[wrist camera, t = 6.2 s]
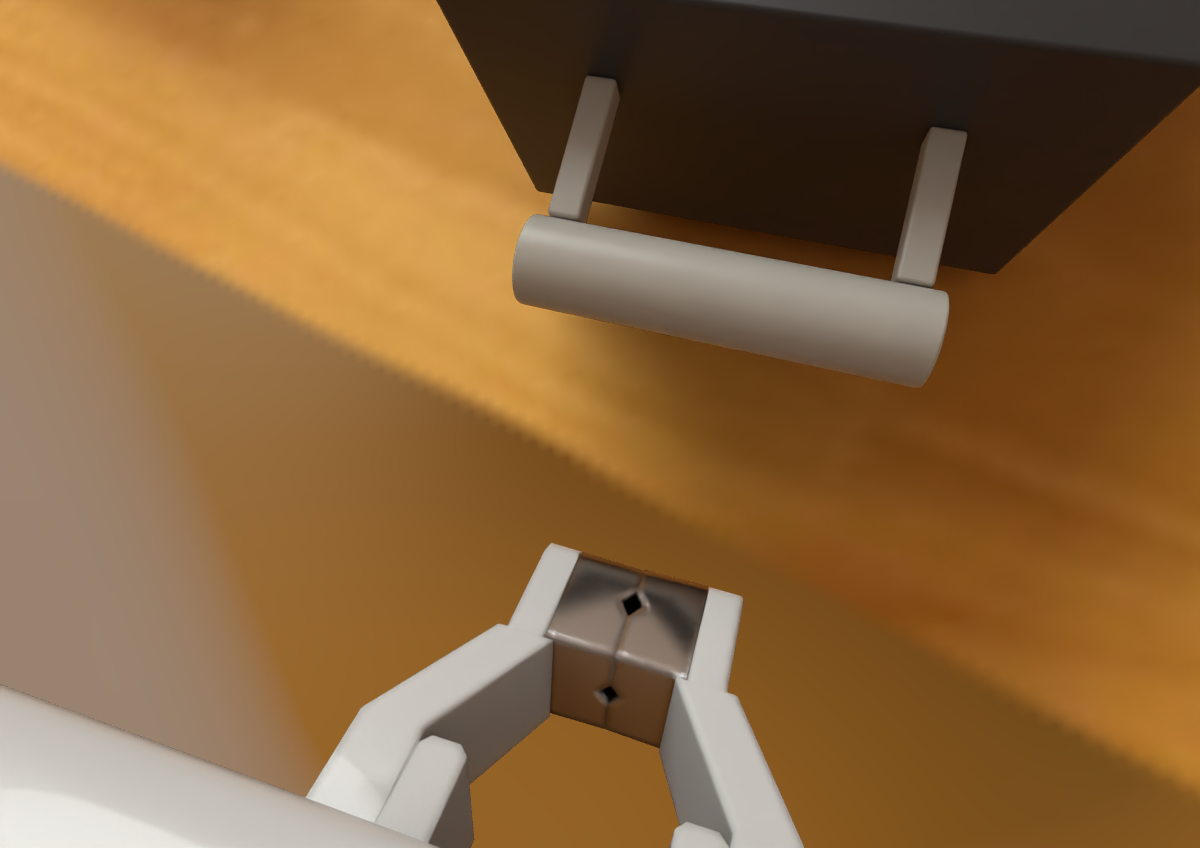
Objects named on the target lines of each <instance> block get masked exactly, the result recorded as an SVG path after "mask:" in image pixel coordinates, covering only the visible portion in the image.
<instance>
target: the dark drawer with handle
mask: <svg viewBox="0 0 1200 848" xmlns="http://www.w3.org/2000/svg"><path fill="white" fill-rule="evenodd" d="M437 2H438V4H439V6H440V8H441V10H442V12H443V14H444V16H445V17H446V19H447V21H448V23H449V25H450V27H451V29H452V31H453V33H454V34H455V36H456V38H457V40H458V42H459V44H460V46H461V48H462V50H463V51H464V53H465V55H466V57H467V59H468V61H469V63H470V65H471V67H472V68H473V70H474V72H475V74H476V76H477V78H478V80H479V82H480V84H481V85H482V87H483V89H484V91H485V93H486V95H487V97H488V99H489V101H490V102H491V104H492V106H493V108H494V110H495V112H496V114H497V116H498V118H499V119H500V121H501V123H502V125H503V127H504V129H505V131H506V133H507V135H508V137H509V138H510V140H511V142H512V144H513V146H514V148H515V150H516V152H517V154H518V155H519V157H520V159H521V161H522V163H523V165H524V167H525V169H526V171H527V172H528V174H529V176H530V178H531V180H532V182H533V184H534V186H535V188H536V189H537V190H538V191H540V192H545V193H551V194H553V196H552V199H551V203H550V206H549V210H548V212H549V215H550V217H549V216H544V215H539V214H536V215H533V216H531V217H530V218H529V219H528V220H527V221H526V223H525V225H524V226H523V228H522V231H521V233H520V236H519V239H518V242H517V245H516V250H515V254H514V260H513V271H512V281H513V290H514V294H515V297H516V299H517V301H519V302H520V303H522V304H525V305H530V306H535V307H539V308H544V309H549V310H553V311H558V312H563V313H567V314H572V315H577V316H581V317H586V318H590V319H595V320H600V321H604V322H609V323H614V324H618V325H623V326H628V327H632V328H637V329H642V330H646V331H651V332H656V333H660V334H665V335H670V336H674V337H679V338H684V339H688V340H693V341H698V342H702V343H707V344H712V345H716V346H721V347H726V348H730V349H735V350H740V351H744V352H749V353H753V354H758V355H763V356H767V357H772V358H777V359H781V360H786V361H791V362H795V363H800V364H805V365H809V366H814V367H819V368H823V369H828V370H833V371H837V372H842V373H847V374H851V375H856V376H861V377H865V378H870V379H875V380H879V381H884V382H889V383H893V384H898V385H903V386H907V387H912V388H920V387H922V386H923V385H924V383H925V382H926V381H927V379H928V378H929V376H930V374H931V372H932V370H933V368H934V366H935V364H936V361H937V359H938V356H939V353H940V350H941V347H942V344H943V340H944V337H945V333H946V328H947V323H948V317H949V296H948V294H947V293H946V292H944V291H941V290H935V289H931V288H932V286H933V285H934V284H935V280H936V276H937V271H938V267H939V265H945V266H950V267H955V268H961V269H966V270H972V271H977V272H983V273H988V274H996V273H997V272H998V271H1000V270H1001V269H1002V268H1003V267H1004V266H1005V265H1006V264H1007V263H1008V262H1009V261H1010V260H1011V259H1013V258H1014V257H1015V256H1016V255H1017V254H1018V253H1019V252H1020V251H1021V250H1022V249H1023V248H1024V247H1026V246H1027V245H1028V244H1029V243H1030V242H1031V241H1032V240H1033V239H1034V238H1035V237H1036V236H1037V235H1039V234H1040V233H1041V232H1042V231H1043V230H1044V229H1045V228H1046V227H1047V226H1048V225H1049V224H1050V223H1052V222H1053V221H1054V220H1055V219H1056V218H1057V217H1058V216H1059V215H1060V214H1061V213H1062V212H1064V211H1065V210H1066V209H1067V208H1068V207H1069V206H1070V205H1071V204H1072V203H1073V202H1074V201H1075V200H1077V199H1078V198H1079V197H1080V196H1081V195H1082V194H1083V193H1084V192H1085V191H1086V190H1087V189H1088V188H1090V187H1091V186H1092V185H1093V184H1094V183H1095V182H1096V181H1097V180H1098V179H1099V178H1100V177H1101V176H1103V175H1104V174H1105V173H1106V172H1107V171H1108V170H1109V169H1110V168H1111V167H1112V166H1113V165H1115V164H1116V163H1117V162H1118V161H1119V160H1120V159H1121V158H1122V157H1123V156H1124V155H1125V154H1126V153H1128V152H1129V151H1130V150H1131V149H1132V148H1133V147H1134V146H1135V145H1136V144H1137V143H1138V142H1139V141H1141V140H1142V139H1143V138H1144V137H1145V136H1146V135H1147V134H1148V133H1149V132H1150V131H1151V130H1152V129H1154V128H1155V127H1156V126H1157V125H1158V124H1159V123H1160V122H1161V121H1162V120H1163V119H1164V118H1165V117H1167V116H1168V115H1169V114H1170V113H1171V112H1172V111H1173V110H1174V109H1175V108H1176V107H1177V106H1179V105H1180V104H1181V103H1182V102H1183V101H1184V100H1185V99H1186V98H1187V97H1188V96H1189V95H1190V94H1192V93H1193V92H1194V91H1195V90H1196V89H1197V88H1198V87H1199V86H1200V0H437ZM592 201H594V202H600V203H605V204H611V205H616V206H622V207H627V208H633V209H638V210H644V211H649V212H655V213H660V214H666V215H671V216H676V217H682V218H687V219H693V220H698V221H704V222H709V223H715V224H720V225H726V226H731V227H737V228H742V229H748V230H753V231H759V232H764V233H769V234H775V235H780V236H786V237H791V238H797V239H802V240H808V241H813V242H819V243H824V244H830V245H835V246H841V247H846V248H852V249H857V250H862V251H868V252H873V253H879V254H884V255H890V256H895V257H896V260H895V264H894V268H893V273H892V277H891V281H888V280H882V279H877V278H872V277H867V276H861V275H856V274H851V273H845V272H840V271H835V270H830V269H824V268H819V267H814V266H808V265H803V264H798V263H793V262H787V261H782V260H777V259H771V258H766V257H761V256H756V255H750V254H745V253H740V252H734V251H729V250H724V249H719V248H713V247H708V246H703V245H697V244H692V243H687V242H682V241H676V240H671V239H666V238H660V237H655V236H650V235H645V234H639V233H634V232H629V231H623V230H618V229H613V228H608V227H602V226H597V225H592V224H586V221H587V218H588V214H589V210H590V207H591V203H592Z"/></svg>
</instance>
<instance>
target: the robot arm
mask: <svg viewBox="0 0 1200 848" xmlns="http://www.w3.org/2000/svg"><path fill="white" fill-rule="evenodd" d="M707 591H708V592H707ZM742 607H743V597H742V596H739V595H736V594H732V593H728V592H725V591H721V590H718V589H714V588H709V589H708V586H705V585H701V584H698V583H694V582H690V581H686V580H682V579H678V578H675V577H671V576H667V575H663V574H660V573H656V572H652V571H648V570H641V569H637V568H634V567H631V566H627V565H624V564H621V563H618V562H614V561H611V560H607V559H604V558H601V557H598V556H595V555H591V554H588V553H585V552H581V551H577V550H574V549H570V548H567V547H564V546H560V545H557V544H553V543H551V544H550V545H549V546H548V547H547V548H546V550H545V551H544V553H543V555H542V557H541V559H540V561H539V563H538V565H537V567H536V569H535V571H534V573H533V575H532V577H531V579H530V581H529V583H528V585H527V588H526V590H525V592H524V594H523V596H522V598H521V600H520V602H519V604H518V606H517V608H516V610H515V612H514V614H513V616H512V618H511V620H510V622H509V624H508V626H506V625H502V624H497V625H495V626H494V627H492V628H490V629H489V630H487V631H485V632H484V633H482V634H480V635H479V636H477V637H476V638H474V639H472V640H471V641H469V642H467V643H466V644H464V645H463V646H461V647H459V648H458V649H456V650H454V651H453V652H451V653H449V654H448V655H447V656H445V657H443V658H441V659H440V660H438V661H436V662H435V663H433V664H432V665H430V666H428V667H427V668H425V669H423V670H422V671H420V672H418V673H417V674H415V675H414V676H412V677H410V678H409V679H407V680H405V681H404V682H402V683H401V684H399V685H397V686H396V687H394V688H392V689H391V690H389V691H388V692H386V693H384V694H383V695H381V696H379V697H378V698H376V699H374V700H373V701H371V702H370V703H368V704H366V705H365V706H363V707H362V708H361V709H360V711H359V712H358V714H357V716H356V717H355V719H354V720H353V722H352V724H351V725H350V727H349V728H348V730H347V732H346V733H345V735H344V736H343V738H342V740H341V741H340V743H339V745H338V746H337V748H336V749H335V751H334V752H333V754H332V756H331V757H330V759H329V761H328V762H327V764H326V766H325V767H324V769H323V770H322V772H321V774H320V775H319V777H318V778H317V780H316V781H315V783H314V785H313V786H312V788H311V790H310V791H309V793H308V794H307V796H306V797H303V796H300V795H297V794H295V793H292V792H289V791H287V790H284V789H281V788H278V787H276V786H273V785H270V784H268V783H265V782H262V781H260V780H257V779H254V778H251V777H249V776H246V775H243V774H241V773H238V772H235V771H233V770H230V769H227V768H225V767H222V766H219V765H217V764H214V763H211V762H208V761H206V760H203V759H200V758H198V757H195V756H192V755H189V754H187V753H184V752H181V751H179V750H176V749H173V748H171V747H168V746H165V745H163V744H160V743H157V742H155V741H152V740H149V739H147V738H144V737H141V736H138V735H136V734H133V733H130V732H127V731H125V730H122V729H120V728H117V727H114V726H112V725H109V724H106V723H103V722H101V721H98V720H95V719H93V718H90V717H87V716H85V715H82V714H79V713H76V712H74V711H71V710H68V709H66V708H63V707H60V706H58V705H55V704H52V703H50V702H47V701H44V700H42V699H39V698H36V697H33V696H31V695H28V694H25V693H23V692H20V691H17V690H15V689H12V688H9V687H7V686H4V685H1V684H0V848H471V846H472V843H473V841H474V833H473V821H472V810H471V799H470V787H469V785H470V784H471V783H472V782H473V781H474V780H475V779H477V778H478V777H479V776H480V775H481V774H483V773H484V772H485V771H486V770H487V769H488V768H490V767H491V766H492V765H493V764H494V763H496V762H497V761H498V760H499V759H500V758H501V757H503V756H504V755H505V754H506V753H507V752H509V751H510V750H511V749H512V748H513V747H514V746H516V745H517V744H518V743H519V742H520V741H521V740H523V739H524V738H525V737H526V736H527V735H528V734H530V733H531V732H532V731H533V730H534V729H536V728H537V727H538V726H539V725H540V724H542V723H543V722H544V721H545V720H546V719H547V718H548V717H550V713H552V714H556V715H559V716H563V717H566V718H570V719H573V720H576V721H579V722H583V723H586V724H590V725H593V726H597V727H600V728H603V729H606V730H609V731H612V732H615V733H618V734H620V735H623V736H626V737H629V738H632V739H635V740H637V741H640V742H643V743H646V744H649V745H652V746H655V747H657V748H660V749H659V752H660V756H661V760H662V764H663V767H664V771H665V774H666V778H667V782H668V785H669V789H670V793H671V796H672V800H673V803H674V807H675V811H676V814H677V818H678V821H679V825H680V826H679V827H677V828H676V829H675V831H674V834H673V838H672V841H671V844H670V848H804V846H803V844H802V841H801V839H800V837H799V835H798V832H797V830H796V828H795V826H794V823H793V821H792V819H791V816H790V814H789V812H788V810H787V807H786V805H785V803H784V801H783V798H782V797H781V794H780V792H779V789H778V787H777V785H776V783H775V780H774V778H773V776H772V774H771V771H770V769H769V767H768V765H767V762H766V760H765V758H764V755H763V753H762V751H761V749H760V746H759V744H758V742H757V740H756V737H755V735H754V733H753V731H752V728H751V726H750V724H749V721H748V719H747V717H746V715H745V713H744V710H743V708H742V706H741V703H740V701H739V699H738V697H737V696H736V695H733V694H730V693H727V690H728V684H729V679H730V673H731V668H732V662H733V657H734V651H735V646H736V640H737V634H738V629H739V624H740V618H741V613H742Z"/></svg>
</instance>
